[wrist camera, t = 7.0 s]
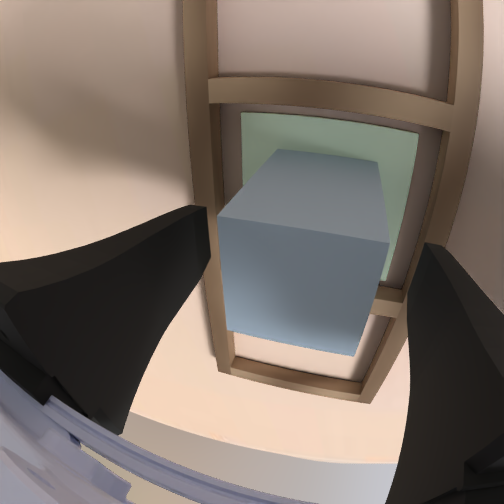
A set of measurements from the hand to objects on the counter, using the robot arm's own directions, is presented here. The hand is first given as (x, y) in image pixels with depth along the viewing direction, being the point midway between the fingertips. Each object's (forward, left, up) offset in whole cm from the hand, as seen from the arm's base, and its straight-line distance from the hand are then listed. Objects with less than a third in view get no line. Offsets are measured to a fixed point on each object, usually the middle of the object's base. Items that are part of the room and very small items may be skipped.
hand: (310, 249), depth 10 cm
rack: (0, 0, -4) cm, 4 cm away
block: (0, 0, -4) cm, 4 cm away
